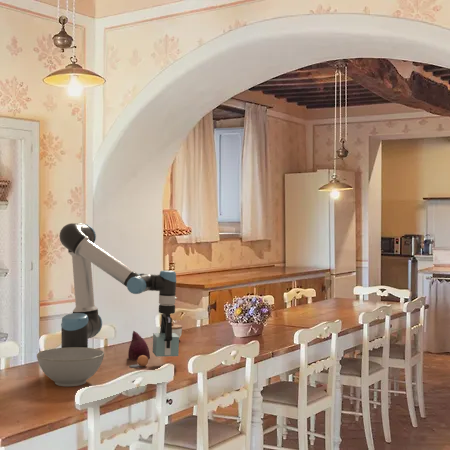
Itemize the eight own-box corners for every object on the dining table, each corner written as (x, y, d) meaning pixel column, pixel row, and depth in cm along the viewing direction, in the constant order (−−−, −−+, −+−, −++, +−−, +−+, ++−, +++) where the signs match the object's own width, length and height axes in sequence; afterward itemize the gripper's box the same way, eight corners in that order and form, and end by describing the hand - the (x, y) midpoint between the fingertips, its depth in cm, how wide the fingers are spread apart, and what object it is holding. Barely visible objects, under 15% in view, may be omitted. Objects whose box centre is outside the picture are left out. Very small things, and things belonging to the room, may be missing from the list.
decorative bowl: (108, 375, 294) (108, 347, 294) (98, 391, 267) (99, 360, 267) (44, 375, 293) (45, 347, 293) (29, 391, 266) (29, 360, 266)
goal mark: (130, 368, 308) (130, 367, 308) (128, 365, 314) (128, 364, 314) (143, 367, 310) (143, 367, 310) (141, 364, 316) (141, 364, 316)
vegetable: (130, 367, 325) (123, 338, 322) (128, 360, 335) (121, 331, 332) (152, 361, 327) (145, 331, 324) (149, 354, 337) (142, 325, 334)
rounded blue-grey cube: (156, 356, 310) (156, 337, 310) (152, 351, 320) (153, 333, 319) (178, 356, 312) (179, 336, 312) (174, 351, 322) (174, 332, 322)
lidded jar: (179, 341, 375) (179, 324, 375) (160, 341, 377) (160, 323, 377) (184, 338, 386) (184, 321, 386) (165, 337, 388) (166, 321, 388)
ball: (147, 354, 311) (150, 365, 311) (145, 352, 316) (148, 362, 316) (136, 358, 310) (139, 368, 310) (135, 356, 314) (138, 366, 315)
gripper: (180, 307, 306) (178, 357, 306) (170, 301, 328) (168, 347, 328) (163, 307, 304) (161, 358, 304) (154, 301, 326) (153, 347, 326)
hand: (165, 352), depth 316 cm, fingers closed on rounded blue-grey cube, 10 cm apart
